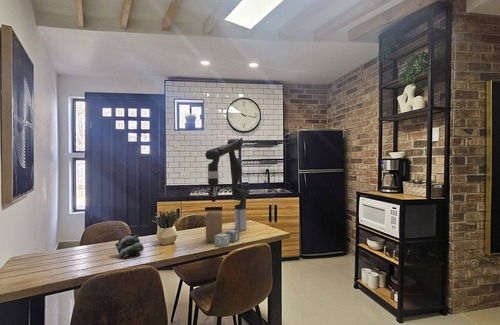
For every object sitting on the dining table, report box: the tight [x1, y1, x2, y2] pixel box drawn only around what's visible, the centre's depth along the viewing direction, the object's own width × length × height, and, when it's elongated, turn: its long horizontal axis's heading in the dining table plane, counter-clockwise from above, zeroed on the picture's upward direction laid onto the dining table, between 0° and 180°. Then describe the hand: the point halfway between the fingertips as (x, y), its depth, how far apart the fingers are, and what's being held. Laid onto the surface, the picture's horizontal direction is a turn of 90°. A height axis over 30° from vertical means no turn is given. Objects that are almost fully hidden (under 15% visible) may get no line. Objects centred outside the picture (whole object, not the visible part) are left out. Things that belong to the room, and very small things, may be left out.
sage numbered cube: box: [214, 232, 230, 248], centre depth 198 cm, size 7×7×7 cm
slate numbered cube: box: [225, 229, 240, 244], centre depth 208 cm, size 7×7×7 cm
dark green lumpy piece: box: [114, 233, 145, 259], centre depth 180 cm, size 15×12×14 cm
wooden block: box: [205, 211, 223, 243], centre depth 209 cm, size 10×10×20 cm
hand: (213, 201), depth 209 cm, fingers closed
